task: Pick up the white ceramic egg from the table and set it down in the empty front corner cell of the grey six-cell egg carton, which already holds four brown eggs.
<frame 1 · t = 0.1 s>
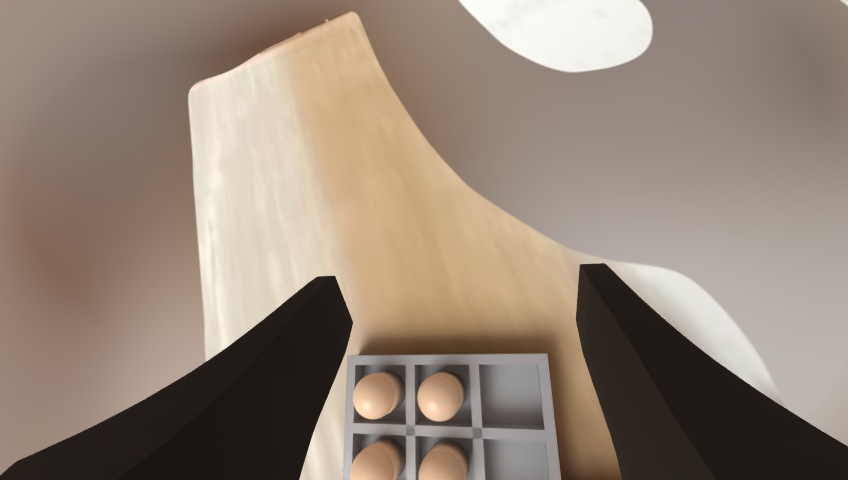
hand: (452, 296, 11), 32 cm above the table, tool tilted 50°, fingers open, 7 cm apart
egg carton: (448, 425, 39), on the table
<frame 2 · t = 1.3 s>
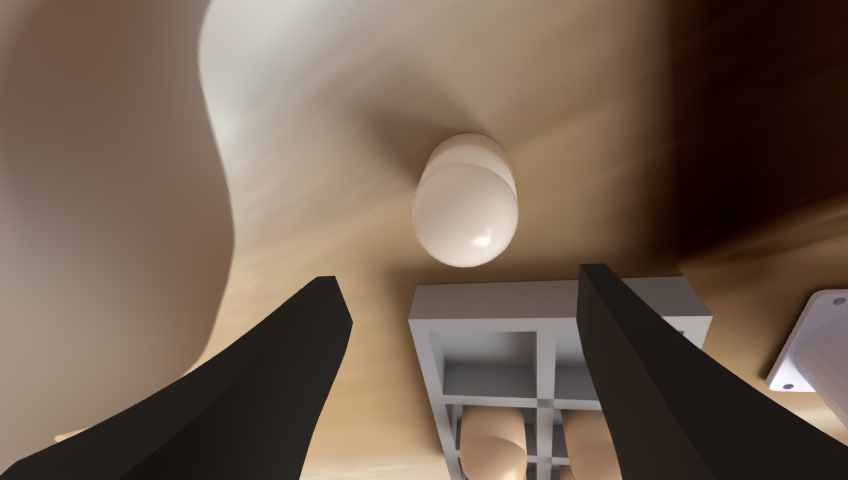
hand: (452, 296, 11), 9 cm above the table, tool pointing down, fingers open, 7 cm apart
egg carton: (539, 394, 27), on the table
white egg: (468, 176, 18), on the table
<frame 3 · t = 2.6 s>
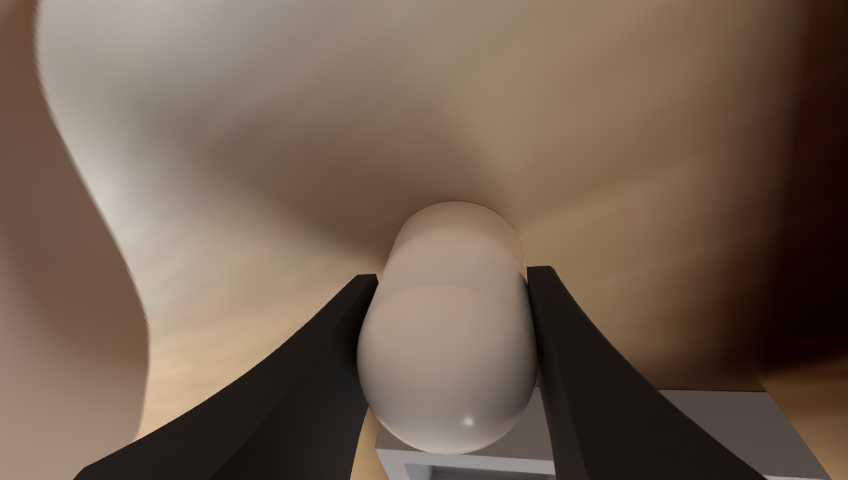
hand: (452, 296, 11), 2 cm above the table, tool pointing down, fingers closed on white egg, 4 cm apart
white egg: (457, 258, 12), on the table, touching gripper
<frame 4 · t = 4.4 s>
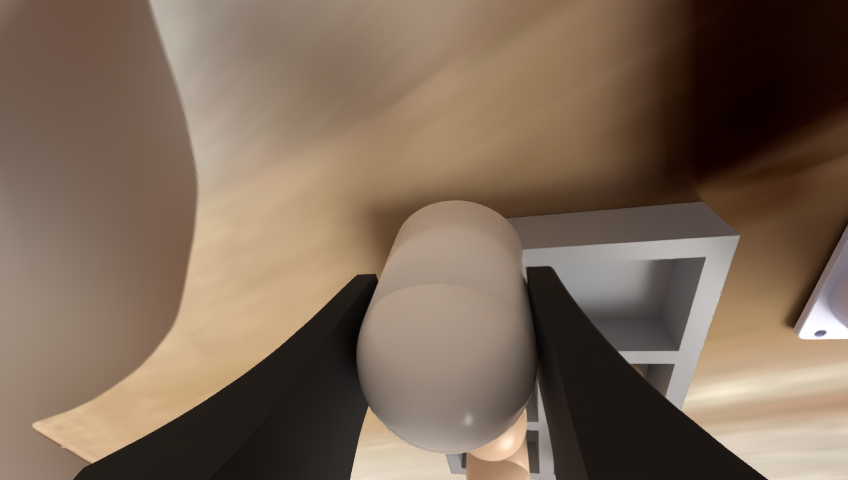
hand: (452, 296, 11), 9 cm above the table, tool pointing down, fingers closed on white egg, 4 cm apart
egg carton: (540, 355, 24), on the table
white egg: (456, 257, 12), point 7 cm above the table, touching gripper
when the fingers open (5 cm above the table, at t = 6.1 s): white egg drops 2 cm, resting on egg carton.
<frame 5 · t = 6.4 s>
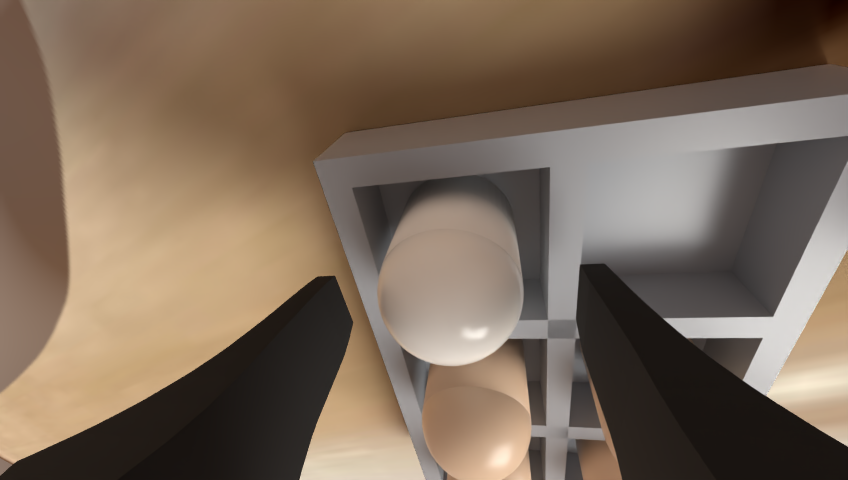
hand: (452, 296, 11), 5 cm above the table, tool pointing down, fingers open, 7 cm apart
egg carton: (549, 333, 17), on the table
white egg: (457, 224, 14), point 1 cm above the table, touching egg carton
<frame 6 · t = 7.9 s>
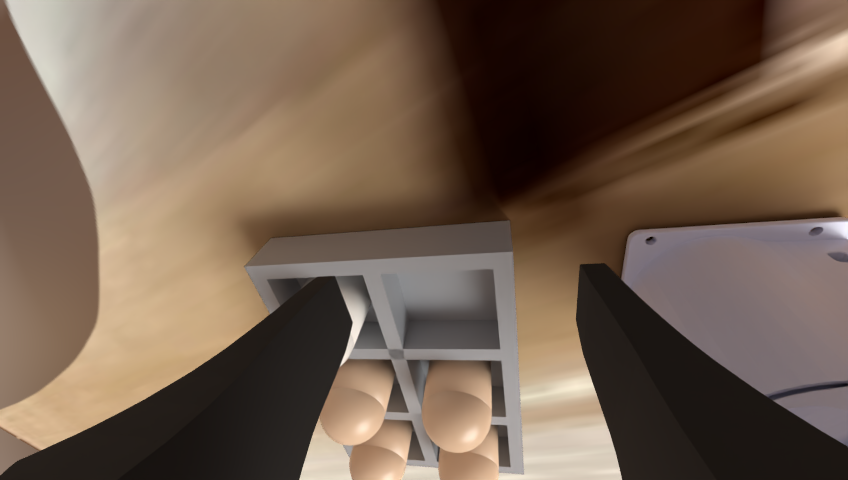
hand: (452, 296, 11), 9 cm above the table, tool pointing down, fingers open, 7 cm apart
egg carton: (415, 352, 27), on the table
white egg: (340, 289, 23), point 1 cm above the table, touching egg carton
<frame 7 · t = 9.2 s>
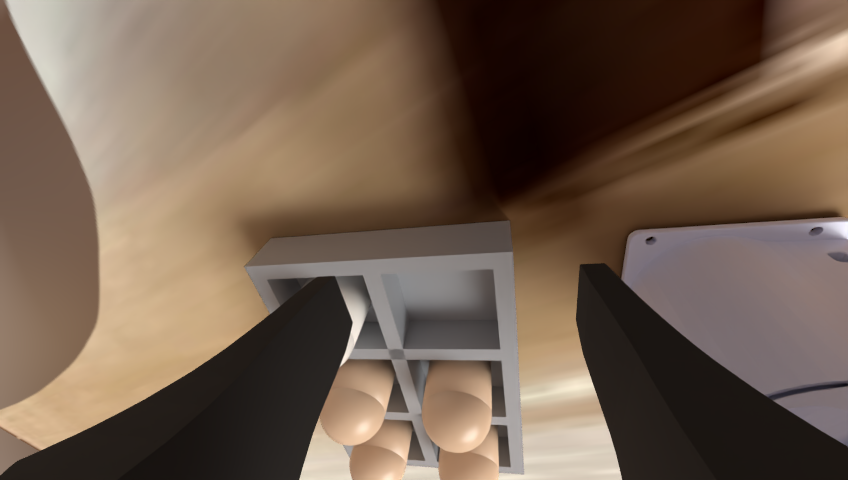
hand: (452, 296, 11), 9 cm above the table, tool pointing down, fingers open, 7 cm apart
egg carton: (415, 352, 27), on the table
white egg: (340, 289, 23), point 1 cm above the table, touching egg carton
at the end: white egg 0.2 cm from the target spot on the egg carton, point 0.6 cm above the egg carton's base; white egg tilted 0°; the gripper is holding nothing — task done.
